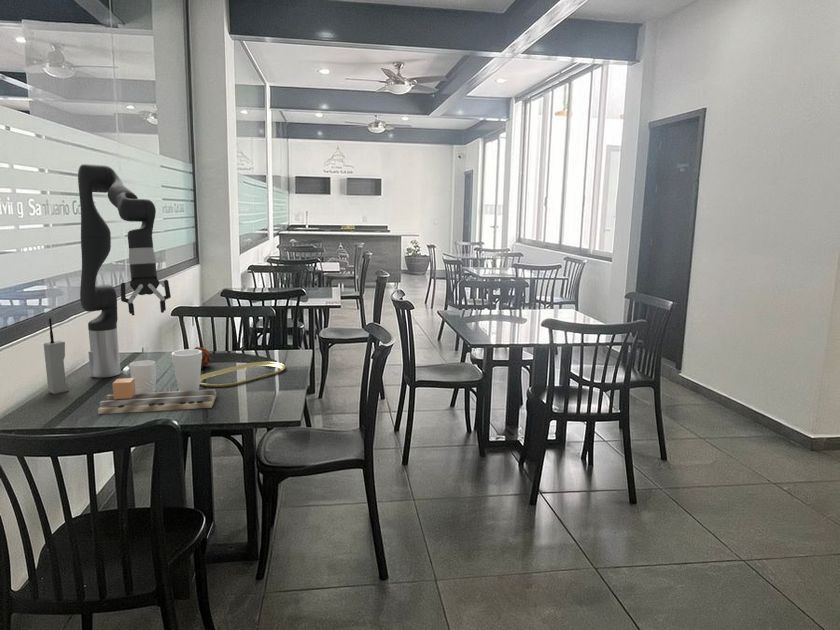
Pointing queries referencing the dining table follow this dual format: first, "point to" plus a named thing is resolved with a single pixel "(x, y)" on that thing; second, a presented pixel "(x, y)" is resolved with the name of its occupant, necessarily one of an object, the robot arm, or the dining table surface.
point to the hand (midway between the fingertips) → (147, 313)
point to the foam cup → (187, 368)
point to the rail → (160, 401)
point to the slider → (124, 389)
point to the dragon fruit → (204, 356)
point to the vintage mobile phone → (55, 364)
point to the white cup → (144, 375)
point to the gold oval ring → (238, 369)
